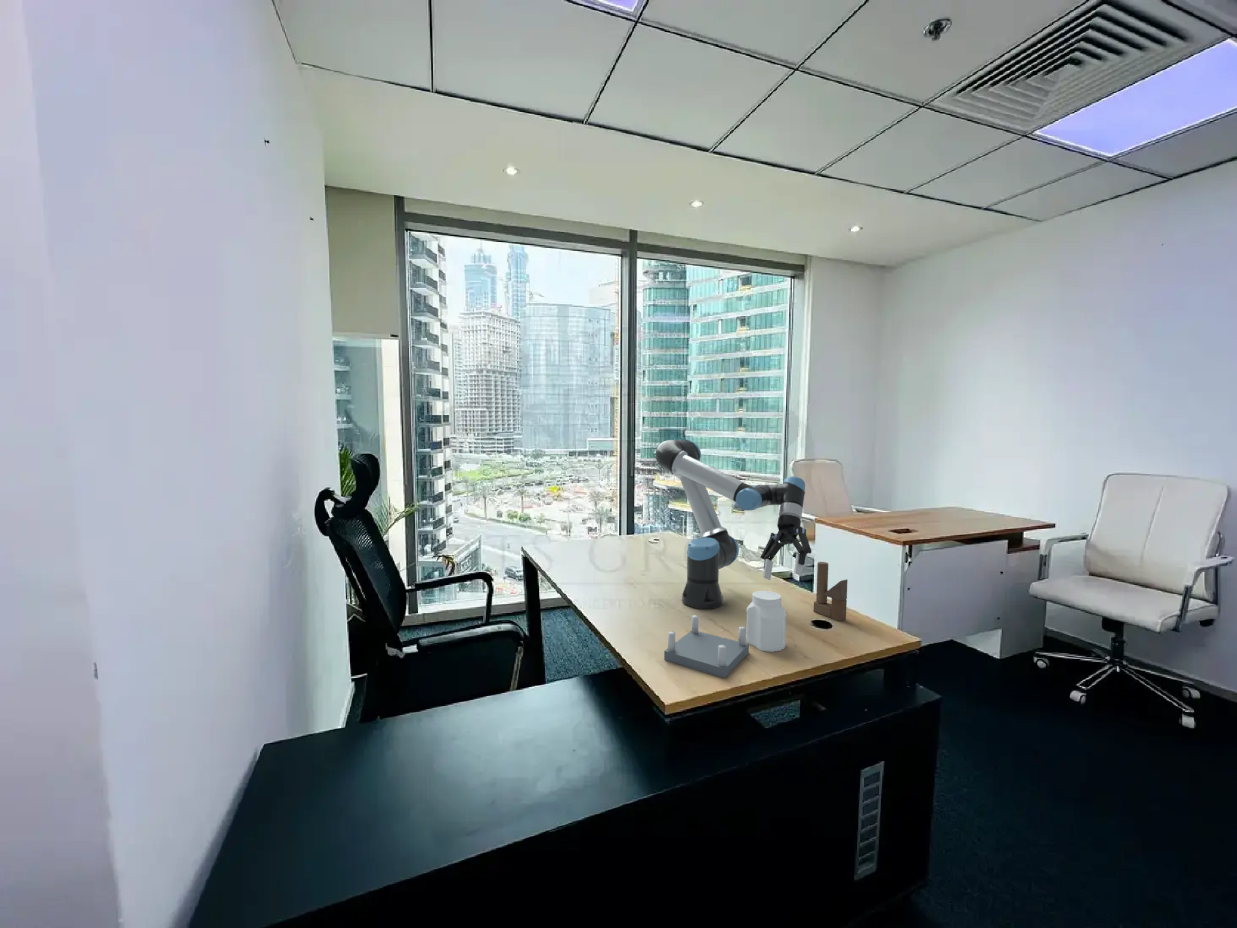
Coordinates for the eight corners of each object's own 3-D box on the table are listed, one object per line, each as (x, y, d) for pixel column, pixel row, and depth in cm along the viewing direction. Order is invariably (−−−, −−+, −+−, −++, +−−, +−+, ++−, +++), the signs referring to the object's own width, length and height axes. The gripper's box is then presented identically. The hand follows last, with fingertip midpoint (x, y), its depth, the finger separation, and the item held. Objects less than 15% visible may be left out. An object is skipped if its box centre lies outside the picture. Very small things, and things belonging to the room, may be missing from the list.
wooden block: (839, 621, 166) (841, 569, 165) (813, 611, 175) (814, 562, 174) (846, 619, 168) (848, 568, 166) (819, 609, 177) (821, 560, 176)
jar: (791, 647, 146) (792, 598, 145) (767, 654, 141) (768, 603, 140) (763, 633, 156) (764, 587, 155) (740, 639, 152) (741, 591, 150)
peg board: (664, 659, 138) (664, 633, 137) (692, 637, 152) (692, 614, 152) (724, 678, 128) (725, 650, 127) (748, 652, 142) (749, 627, 142)
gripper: (827, 515, 161) (820, 577, 151) (771, 529, 182) (762, 583, 172) (810, 506, 158) (803, 567, 149) (756, 520, 179) (746, 575, 170)
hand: (781, 576), depth 160 cm, fingers open, 13 cm apart
